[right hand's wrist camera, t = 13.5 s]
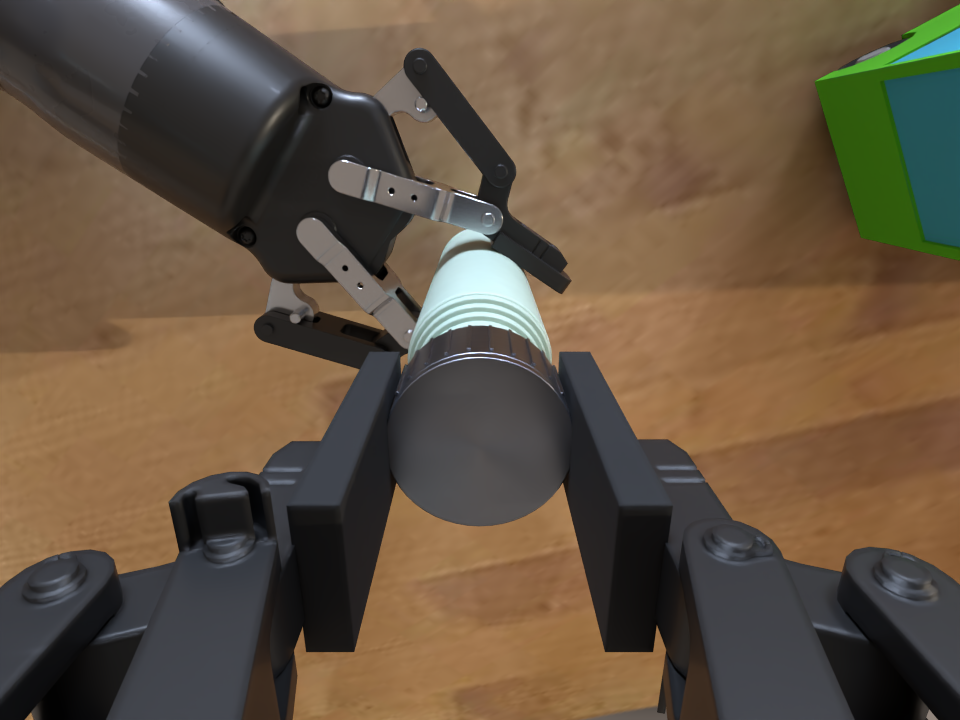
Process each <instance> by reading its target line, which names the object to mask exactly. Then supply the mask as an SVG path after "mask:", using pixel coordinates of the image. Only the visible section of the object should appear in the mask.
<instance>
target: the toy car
mask: <svg viewBox="0 0 960 720" xmlns="http://www.w3.org/2000/svg"><path fill="white" fill-rule="evenodd" d="M814 82H815V85H816V88H817V92H818V95H819V99H820V102H821V105H822V109H823V112H824V115H825V119H826V122H827V125H828V129H829V132H830V135H831V139H832V142H833V146H834V149H835V152H836V156H837V159H838V162H839V166H840V169H841V172H842V176H843V179H844V182H845V186H846V189H847V193H848V196H849V199H850V203H851V206H852V209H853V213H854V216H855V219H856V223H857V226H858V230H859V233H860V236H861V238H864V239H869V240H873V241H877V242H882V243H886V244H890V245H895V246H899V247H903V248H908V249H912V250H916V251H921V252H925V253H929V254H933V255H938V256H942V257H946V258H951V259H955V260H959V261H960V4H959V5H957V6H956V7H954V8H952V9H950V10H948V11H946V12H944V13H942V14H940V15H939V16H937V17H935V18H933V19H931V20H929V21H927V22H925V23H924V24H922V25H920V26H918V27H916V28H914V29H912V30H910V31H908V32H907V33H905V34H903V35H902V40H900V41H897V42H894V43H891V44H888V45H886V46H884V47H881V48H879V49H877V50H874V51H872V52H870V53H868V54H866V55H864V56H861V57H859V58H857V59H855V60H853V61H851V62H850V63H848V64H846V65H845V66H843V67H841V68H840V69H838V70H837V71H833V72H831V73H829V74H828V75H826V76H824V77H822V78H820V79H818V80H816V81H814Z"/></svg>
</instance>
